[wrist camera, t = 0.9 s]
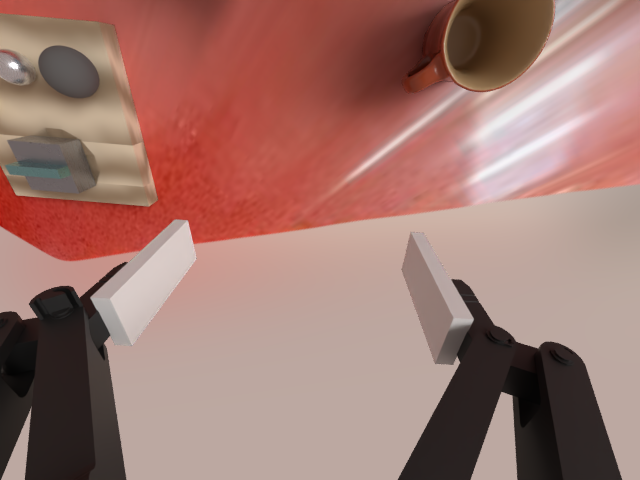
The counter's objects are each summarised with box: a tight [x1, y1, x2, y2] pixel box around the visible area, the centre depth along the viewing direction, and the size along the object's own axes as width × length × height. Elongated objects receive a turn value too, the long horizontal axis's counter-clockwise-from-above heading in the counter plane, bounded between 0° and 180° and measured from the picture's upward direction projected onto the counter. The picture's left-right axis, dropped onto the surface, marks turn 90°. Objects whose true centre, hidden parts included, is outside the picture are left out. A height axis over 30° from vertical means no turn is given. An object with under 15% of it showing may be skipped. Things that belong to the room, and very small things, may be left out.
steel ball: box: [0, 49, 36, 85], centre depth 31 cm, size 4×4×4 cm
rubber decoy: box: [38, 45, 99, 98], centre depth 30 cm, size 5×5×5 cm
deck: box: [0, 13, 158, 206], centre depth 37 cm, size 22×20×2 cm
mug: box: [402, 0, 555, 94], centre depth 28 cm, size 12×9×10 cm
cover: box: [5, 135, 96, 194], centre depth 36 cm, size 6×6×5 cm
